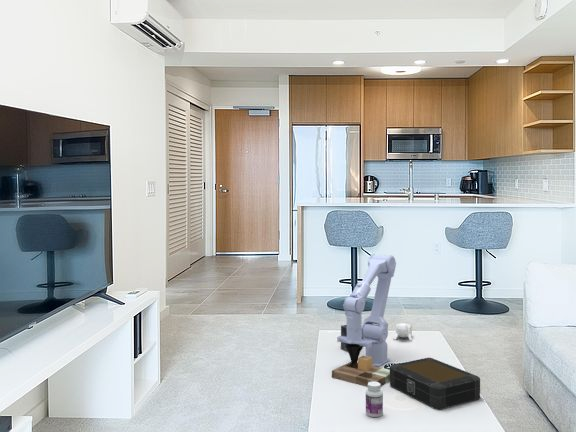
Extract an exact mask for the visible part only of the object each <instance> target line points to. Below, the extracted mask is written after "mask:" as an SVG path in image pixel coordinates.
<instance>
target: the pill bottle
mask: <svg viewBox="0 0 576 432" xmlns="http://www.w3.org/2000/svg"><path fill="white" fill-rule="evenodd" d="M381 387H382V386H381V384H380V383H379V382H369V383H368V387H367V389H366V390H365V413H366V415H367V416H368V417H371V418H379V417H381V416H383V414H384V407H383V406H384V404H383V403H384V393H383V390H382V389H381Z"/></svg>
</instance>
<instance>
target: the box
mask: <svg viewBox="0 0 576 432" xmlns="http://www.w3.org/2000/svg"><path fill="white" fill-rule="evenodd" d="M340 336H344V337H347V324H344V325H340ZM346 345H347V343H344V342H340V350H343V351H344V352H347V353H348V351H347V349H346V347H345V346H346Z"/></svg>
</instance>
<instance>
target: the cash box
mask: <svg viewBox="0 0 576 432" xmlns="http://www.w3.org/2000/svg"><path fill="white" fill-rule="evenodd" d="M389 370H390V381H389V386H390V387H392V388H393V389H395V390H397V391H399V392H402V393H403V394H404V395H407V396H409V397H411V398H412V399H414V400H417V401H419V402H420V403H422V404H425V405H426V406H428V407H430V408H432V409H434V410H443V409H448V408H452V407H454V406H459V405H462V404H466V402H467V403H469V402H474V401H476V400H479V399H480V398H481V378H480V377H479V375H476V374H473V373H471V372H468V371H466V370H463V369H461V368H458V367H455V366H453V365H451V364H448V363H446V362H443V361H440V360H437V359H435V358H433V357H425V358H424V357H423V358H419V359H414V360H410V361H405V362H400V363H395V364H392V365H390V366H389Z"/></svg>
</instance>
